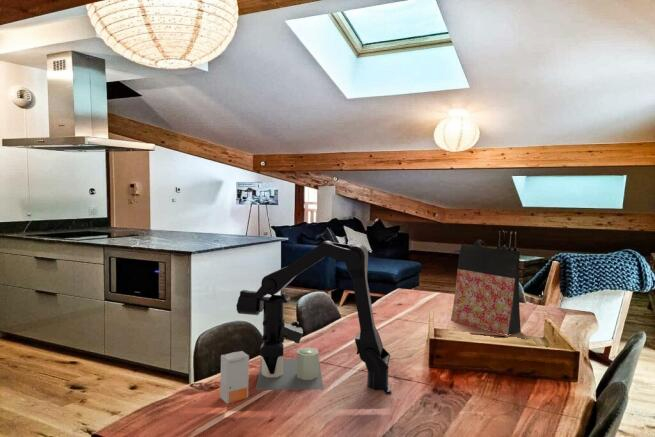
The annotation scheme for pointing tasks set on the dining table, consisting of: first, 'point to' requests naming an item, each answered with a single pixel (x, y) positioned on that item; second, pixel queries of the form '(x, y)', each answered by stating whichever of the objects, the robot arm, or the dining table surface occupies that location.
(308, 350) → the sage cup
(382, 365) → the robot arm
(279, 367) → the cream cup
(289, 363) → the mat
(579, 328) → the dining table surface
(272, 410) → the dining table surface
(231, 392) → the skincare box
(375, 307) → the dining table surface
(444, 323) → the dining table surface
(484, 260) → the gift bag
